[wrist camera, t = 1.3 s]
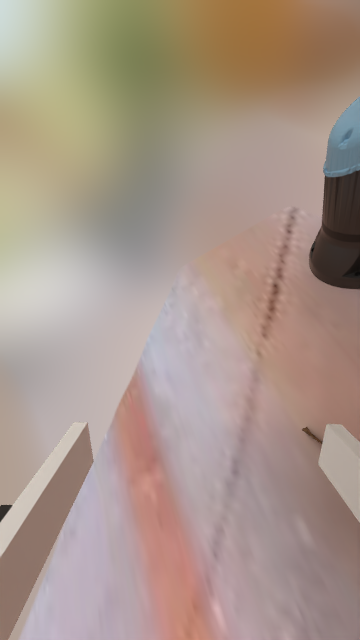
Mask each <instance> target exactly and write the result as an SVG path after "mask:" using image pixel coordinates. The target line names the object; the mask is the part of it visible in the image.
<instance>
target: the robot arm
mask: <svg viewBox="0 0 360 640" xmlns="http://www.w3.org/2000/svg"><path fill="white" fill-rule="evenodd" d="M323 169H324V170H323V172H324V174H325V184H324V201H323V215H322V226H321V228H320V230H319V232H318V235H317V237H316V239H315V241H314V243H313V245H312V247H311V249H310V254H309V265H310V269H311V271H312V272H313V274H314V275H315V276H316V277H317V278H319V279H320V280H322V281H324V282H326V283H328V284H331V285H334V286H338V287H344V288H360V97H359V98H357V99H356V100H355V101H354V102H353V103H352V104H351V105H350V106H349V107H348V108H347V109H346V110H345V111H344V112H343V114H342V115H341V116H340V117H339V119H338V120H337V122H336V123H335V125H334V127H333V128H332V131H331V133H330V136H329V140H328V148H327V156H326V161H325V164H324V168H323ZM92 463H93V455H92V449H91V442H90V436H89V429H88V423H86V422H85V423H84V422H83V423H81V422H78V423H77V422H74V423H73V424H72V426H71V427H70V428H69V430H68V431H67V433H66V434H65V435H64V437H63V438H62V439H61V441H60V442H59V443H58V445H57V446H56V448H55V449H54V450H53V452H52V453H51V454H50V456H49V457H48V458H47V460H46V461H45V462H44V464H43V465H42V467H41V468H40V469H39V471H38V472H37V473H36V475H35V476H34V477H33V479H32V480H31V482H30V483H29V484H28V486H27V487H26V488H25V490H24V491H23V493H22V494H21V495H20V496H19V498H18V499H17V501H16V502H15V503H14V505H1V506H0V640H8V639H9V637H10V635H11V632H12V630H13V628H14V626H15V624H16V622H17V620H18V618H19V616H20V614H21V611H22V610H23V607H24V605H25V603H26V601H27V599H28V597H29V595H30V593H31V591H32V588H33V586H34V584H35V582H36V580H37V578H38V576H39V574H40V572H41V570H42V568H43V566H44V563H45V561H46V559H47V557H48V555H49V553H50V551H51V549H52V547H53V545H54V543H55V541H56V539H57V536H58V534H59V532H60V530H61V528H62V526H63V524H64V522H65V520H66V518H67V516H68V514H69V511H70V509H71V507H72V505H73V503H74V501H75V499H76V497H77V495H78V493H79V491H80V489H81V486H82V484H83V482H84V480H85V478H86V476H87V474H88V472H89V470H90V468H91V466H92ZM318 465H319V466H320V467H321V469H322V470H323V472H324V473H325V474H326V476H327V477H328V479H329V480H330V482H331V483H332V484H333V486H334V487H335V489H336V490H337V491H338V493H339V494H340V496H341V497H342V499H343V500H344V501H345V503H346V504H347V506H348V507H349V509H350V510H351V511H352V513H353V514H354V516H355V517H356V518H357V520H358V521H359V523H360V442H359V441H358V440H357V439H356V438H355V437H354V436H353V435H352V434H351V433H350V432H349V431H348V430H347V429H345V428H344V427H343V426H342V425H341V424H326V429H325V434H324V438H323V443H322V448H321V452H320V457H319V462H318Z"/></svg>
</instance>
